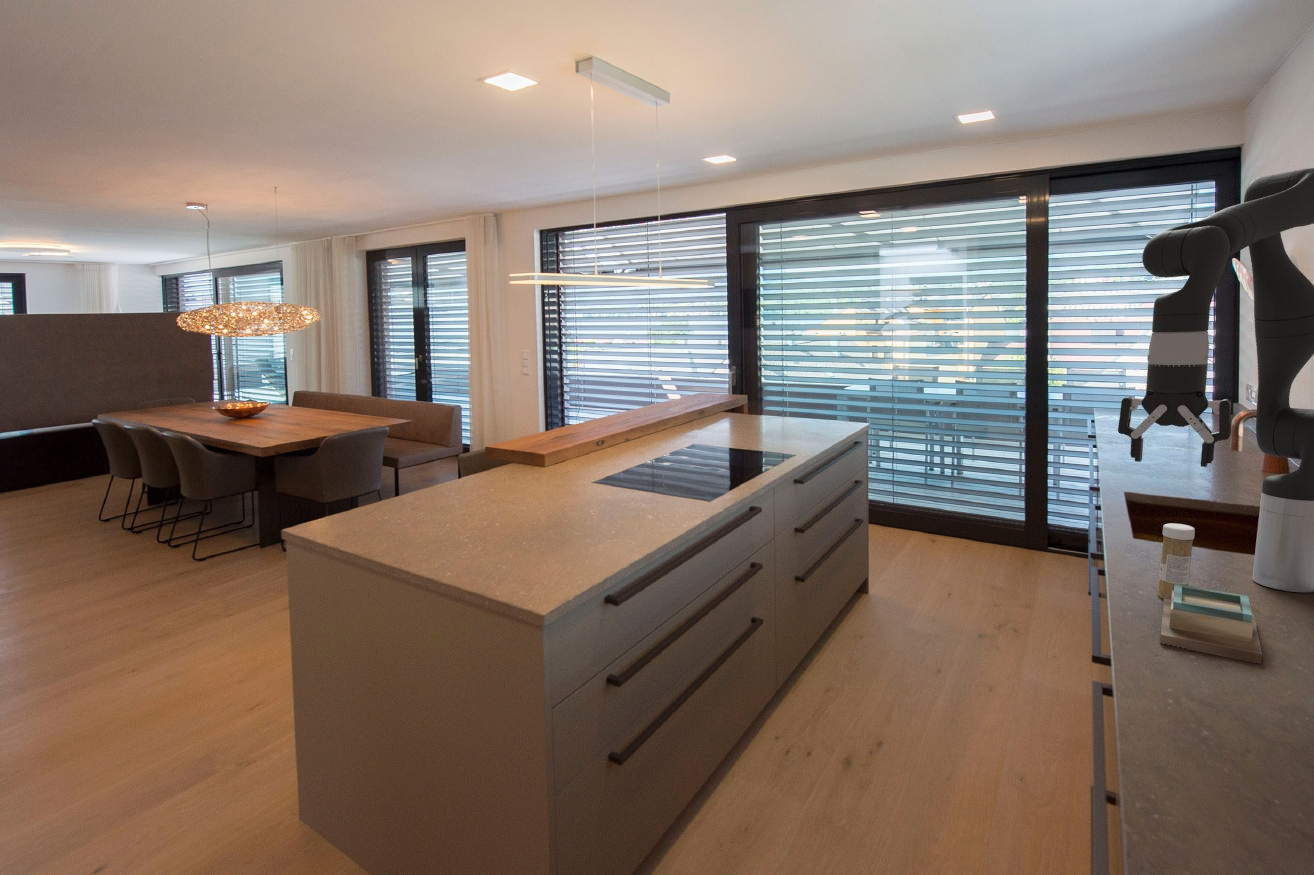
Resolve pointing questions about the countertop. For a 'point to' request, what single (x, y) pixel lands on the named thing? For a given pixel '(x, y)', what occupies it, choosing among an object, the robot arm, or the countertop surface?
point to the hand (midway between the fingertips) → (1170, 463)
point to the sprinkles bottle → (1175, 558)
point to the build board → (1210, 641)
